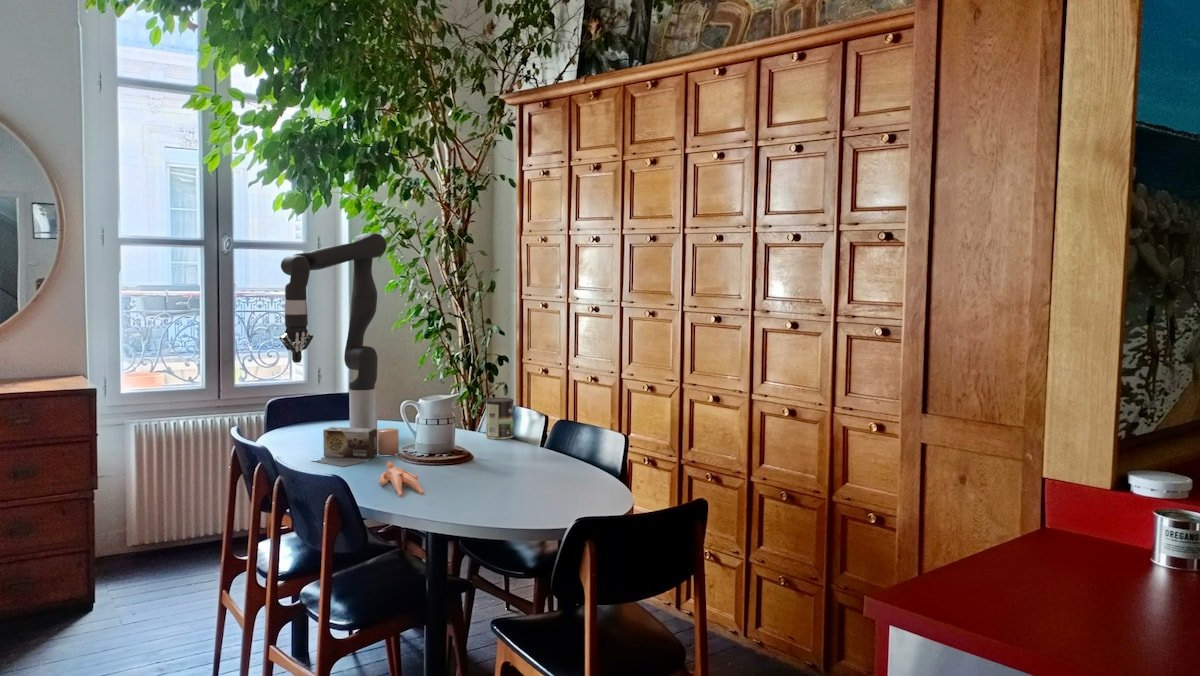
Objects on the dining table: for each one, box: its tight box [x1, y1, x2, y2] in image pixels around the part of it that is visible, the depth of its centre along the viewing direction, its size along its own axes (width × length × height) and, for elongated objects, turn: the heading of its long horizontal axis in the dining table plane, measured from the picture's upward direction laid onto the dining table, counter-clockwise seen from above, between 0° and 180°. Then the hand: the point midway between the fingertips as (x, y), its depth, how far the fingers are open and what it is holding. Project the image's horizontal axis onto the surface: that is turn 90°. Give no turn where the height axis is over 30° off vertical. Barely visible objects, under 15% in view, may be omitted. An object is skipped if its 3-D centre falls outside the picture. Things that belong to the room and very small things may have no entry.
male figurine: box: [378, 460, 425, 498], centre depth 249 cm, size 11×5×25 cm
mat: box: [317, 456, 372, 468], centre depth 280 cm, size 12×15×1 cm
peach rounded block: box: [377, 427, 400, 456], centre depth 291 cm, size 7×7×8 cm
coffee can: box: [485, 397, 514, 440], centre depth 321 cm, size 10×10×14 cm
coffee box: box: [322, 426, 378, 459], centre depth 285 cm, size 9×6×16 cm
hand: (297, 362), depth 303 cm, fingers closed
